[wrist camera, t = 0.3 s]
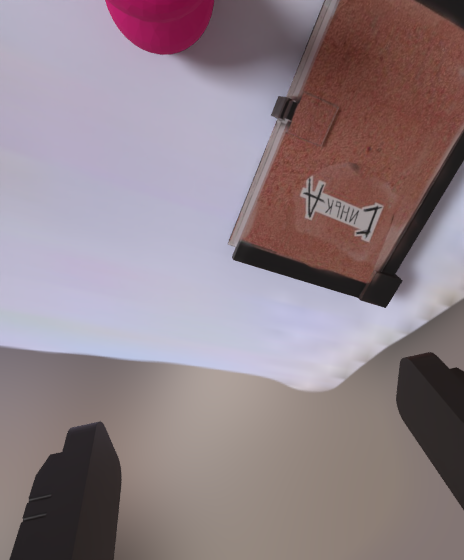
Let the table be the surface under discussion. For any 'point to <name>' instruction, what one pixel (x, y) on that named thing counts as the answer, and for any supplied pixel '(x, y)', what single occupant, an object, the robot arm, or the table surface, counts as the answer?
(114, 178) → the table surface
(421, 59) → the book
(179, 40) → the pepper mill
